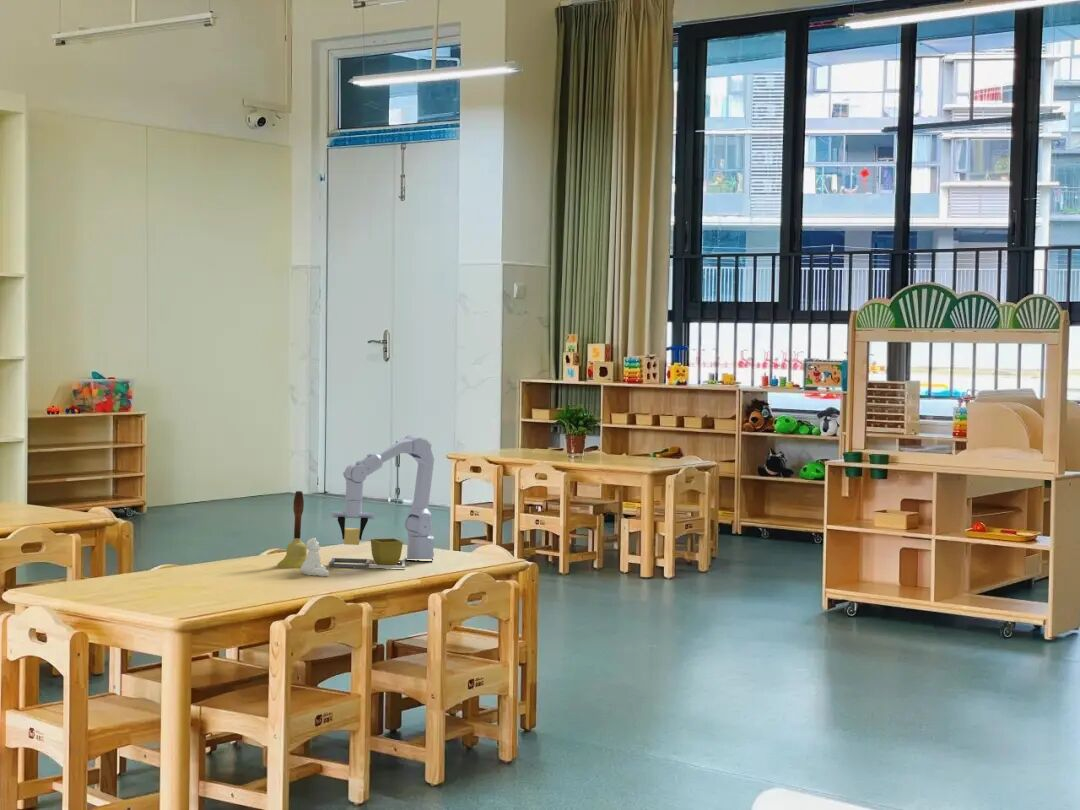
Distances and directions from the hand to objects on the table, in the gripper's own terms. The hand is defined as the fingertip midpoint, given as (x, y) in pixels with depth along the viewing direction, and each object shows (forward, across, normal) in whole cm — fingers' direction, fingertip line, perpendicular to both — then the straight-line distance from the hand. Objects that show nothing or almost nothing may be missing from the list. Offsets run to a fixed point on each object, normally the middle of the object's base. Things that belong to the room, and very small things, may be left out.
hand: (351, 539), depth 450 cm
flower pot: (+9, -12, +2) cm, 15 cm away
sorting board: (+8, -6, +2) cm, 11 cm away
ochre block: (+2, 0, 0) cm, 2 cm away
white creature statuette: (+9, +11, +24) cm, 27 cm away
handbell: (+9, +18, +6) cm, 21 cm away
